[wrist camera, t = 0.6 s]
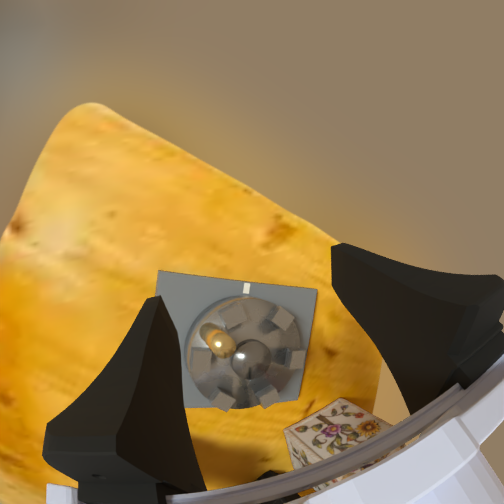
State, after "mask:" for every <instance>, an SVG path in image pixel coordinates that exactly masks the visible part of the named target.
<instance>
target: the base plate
mask: <svg viewBox="0 0 504 504" xmlns="http://www.w3.org/2000/svg"><path fill="white" fill-rule="evenodd" d="M159 295H161V297H162V299H163V301H164V303H165V306H166V308H167V310H168V312H169V314H170V317H171V319H172V321H173V323H174V325H175V327H176V329H177V332H178V338H179V343H180V350H181V365H182V385H183V400H184V408H208V407H215V406H213V405H211V404H210V403H209V401H208V399H207V398H205V397H204V396H203V395H202V394H201V393H200V392H199V390H198V389H197V387H196V386H195V384H194V382H193V380H192V378H191V376H190V375H189V372H188V370H187V368H186V364H185V360H184V344H185V339H186V336H187V333H188V331H189V328H190V326H191V325H192V323H193V322H194V320H195V319H196V318H197V316H198V315H199V314H200V313H201V312H202V311H203V310H204V309H205V308H207V307H208V306H209V305H211V304H213V303H214V302H216V301H218V300H221V299H223V298H226V297H230V296H237V295H247V296H253V297H256V298H259V299H262V300H265V301H268V302H271V303H273V304H275V305H278V306H281V307H282V308H284V309H285V310H286V311H287V312H289V313H290V314H291V315H292V316H294V317H295V318H294V319H293V321H294V323H295V325H296V327H297V330H298V333H299V338H300V348H302V349H304V350H305V351H306V353H305V358H304V364H303V368H301V369H295V371H294V373H293V375H292V377H291V379H290V380H289V382H288V383H287V384H286V385H285V387H284V388H283V389H282V390H281V391H280V392H279V393H278V395H279V397H280V400H279V401H277V402H275V403H278V402H286V401H293V400H298V396H299V391H300V386H301V381H302V376H303V371H304V366H305V361H306V356H307V350H308V345H309V339H310V333H311V327H312V321H313V315H314V308H315V301H316V295H317V289H312V288H304V287H294V286H284V285H275V284H265V283H256V282H247V281H239V280H230V279H222V278H214V277H206V276H198V275H190V274H183V273H175V272H168V271H161V270H158V276H157V284H156V293H155V296H159Z"/></svg>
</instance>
